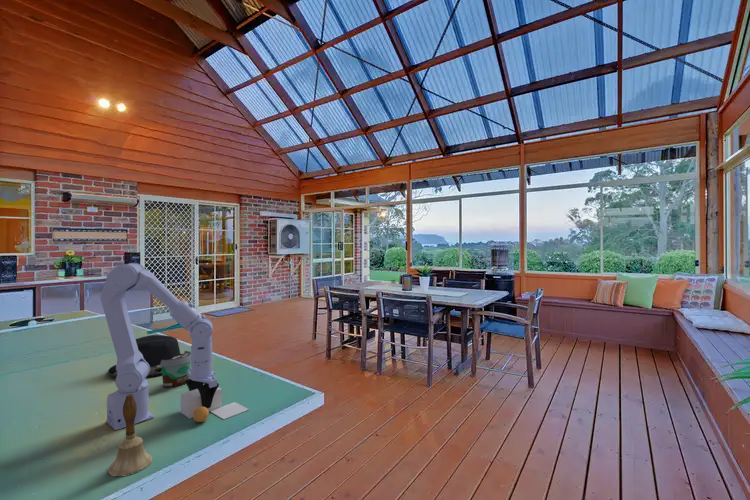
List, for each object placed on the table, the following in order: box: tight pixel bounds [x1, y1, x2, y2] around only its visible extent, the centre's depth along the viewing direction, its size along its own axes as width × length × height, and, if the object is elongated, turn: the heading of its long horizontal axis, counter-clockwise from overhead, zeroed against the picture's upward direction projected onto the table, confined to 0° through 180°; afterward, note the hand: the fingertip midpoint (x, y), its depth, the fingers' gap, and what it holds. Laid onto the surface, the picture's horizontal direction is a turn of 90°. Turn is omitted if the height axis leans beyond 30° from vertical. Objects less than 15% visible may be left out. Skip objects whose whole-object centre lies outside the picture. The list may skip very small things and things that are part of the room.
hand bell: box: [107, 394, 153, 477], centre depth 81 cm, size 8×8×16 cm
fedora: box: [107, 334, 183, 379], centre depth 144 cm, size 25×27×12 cm
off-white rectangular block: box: [180, 387, 223, 419], centre depth 108 cm, size 10×6×6 cm, turn 141°
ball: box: [193, 407, 210, 423], centre depth 101 cm, size 4×4×4 cm
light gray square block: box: [209, 401, 250, 421], centre depth 108 cm, size 8×8×1 cm
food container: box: [160, 350, 191, 389], centre depth 128 cm, size 12×6×10 cm, turn 168°
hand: (201, 405), depth 108 cm, fingers closed on off-white rectangular block, 6 cm apart
